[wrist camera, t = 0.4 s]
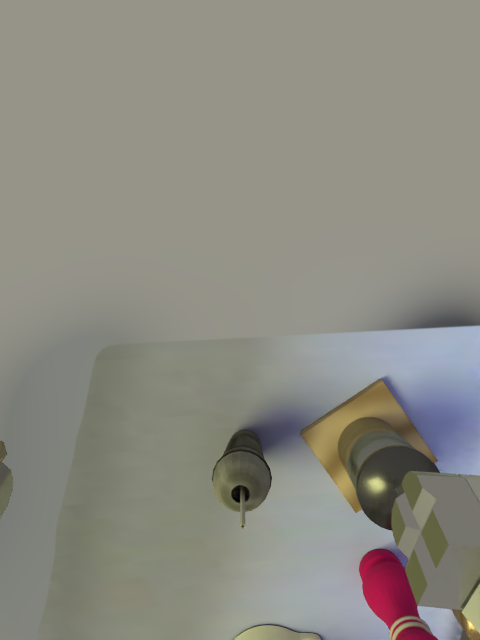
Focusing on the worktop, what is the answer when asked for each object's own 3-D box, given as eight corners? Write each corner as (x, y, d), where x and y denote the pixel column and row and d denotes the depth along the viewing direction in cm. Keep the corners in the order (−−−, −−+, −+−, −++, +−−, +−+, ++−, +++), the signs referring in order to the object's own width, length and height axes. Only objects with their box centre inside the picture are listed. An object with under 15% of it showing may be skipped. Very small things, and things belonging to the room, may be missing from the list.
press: (425, 470, 59) (528, 577, 37) (369, 506, 60) (436, 632, 38) (378, 402, 59) (452, 467, 37) (322, 438, 60) (362, 525, 37)
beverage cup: (259, 414, 61) (260, 471, 42) (275, 459, 62) (284, 537, 42) (213, 430, 62) (192, 494, 42) (230, 474, 62) (217, 559, 42)
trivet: (433, 456, 61) (437, 460, 59) (353, 507, 62) (355, 512, 60) (379, 378, 60) (382, 381, 59) (300, 431, 61) (301, 434, 60)
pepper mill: (352, 587, 62) (396, 724, 43) (359, 541, 62) (408, 658, 42) (400, 594, 62) (467, 736, 42) (407, 549, 62) (479, 670, 42)
